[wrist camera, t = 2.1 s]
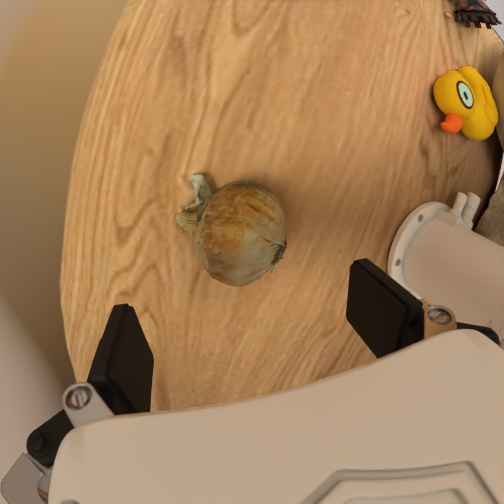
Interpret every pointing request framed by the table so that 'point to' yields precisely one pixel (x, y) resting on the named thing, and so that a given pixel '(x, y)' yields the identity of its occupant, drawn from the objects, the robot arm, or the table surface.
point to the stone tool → (493, 217)
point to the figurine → (474, 13)
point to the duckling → (466, 103)
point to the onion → (235, 229)
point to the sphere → (499, 98)
